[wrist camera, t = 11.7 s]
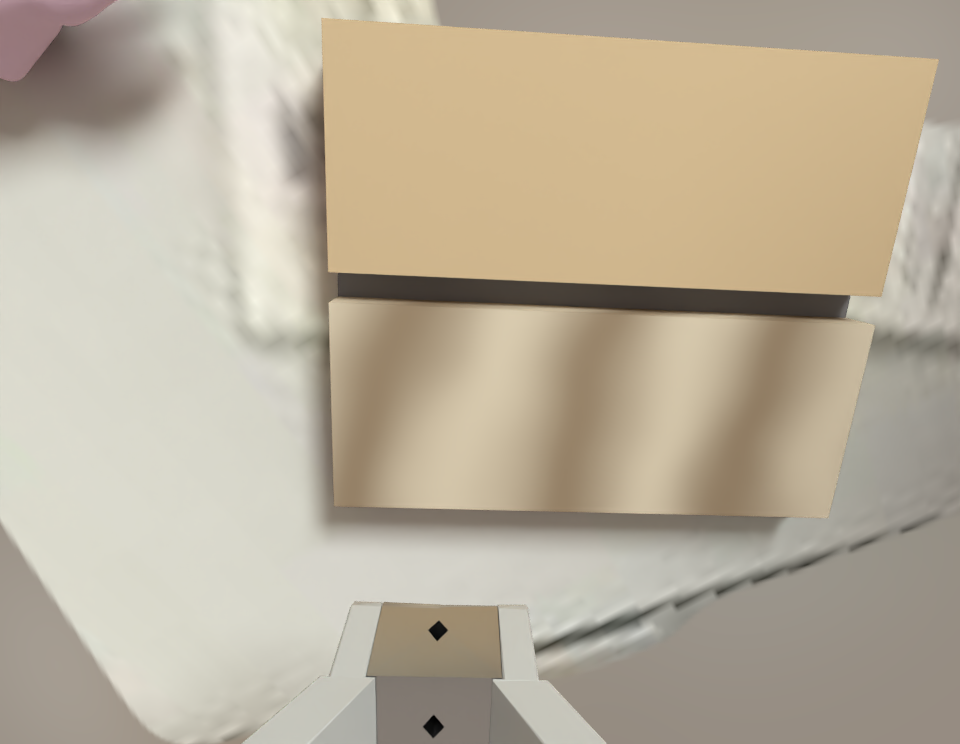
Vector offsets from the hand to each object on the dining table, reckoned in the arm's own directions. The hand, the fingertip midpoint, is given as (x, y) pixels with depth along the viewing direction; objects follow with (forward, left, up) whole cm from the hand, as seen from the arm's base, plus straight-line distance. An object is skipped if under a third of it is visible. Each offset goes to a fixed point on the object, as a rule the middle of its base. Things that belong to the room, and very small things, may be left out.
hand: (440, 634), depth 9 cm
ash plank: (-5, 0, -12) cm, 13 cm away
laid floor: (-5, -4, -13) cm, 14 cm away
